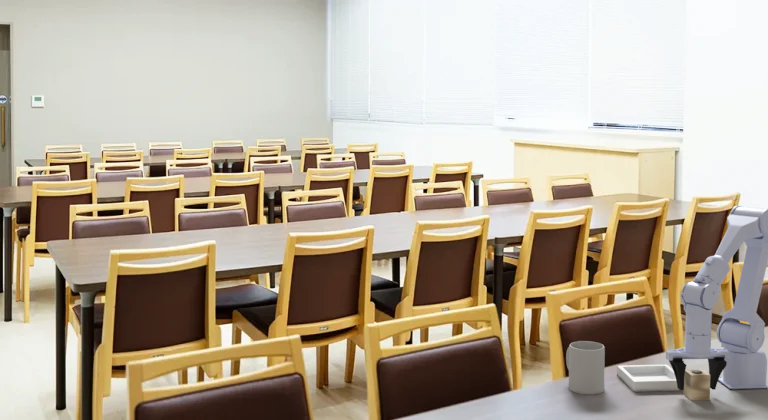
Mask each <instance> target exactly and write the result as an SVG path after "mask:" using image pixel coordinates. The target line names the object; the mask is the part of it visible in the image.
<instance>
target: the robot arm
mask: <svg viewBox="0 0 768 420" xmlns="http://www.w3.org/2000/svg"><path fill="white" fill-rule="evenodd" d="M726 218H727V219H726V225H727V229H726V231H725V233H724V234H723V235H724V236H723V237H722V240H721V241H720V244H719V245H718V248H717V249H716V252H715V254H714V255H710V256H708V257H706V259H705V261H704V262H703V264H702V266H701V267H700V269H699V270H698V272H697V274H696V275H695V277H694V278H693V279H692V281H689V282H687V283H686V284H685V285H684V286H683V287H682V290H681V293H680V299H681V301H682V304H683V310H684V312H685V333H684V334H685V335H684V347H683V348H677V349H670V350H669V349H667V350H665V359H666V360H668V362H669V363H670V367H671V368H672V369H673V371H674V374H675V377H676V381H677V388H678V389H680V390H679V391H683V390H684V375H685V370H687V364H686V363H685V361H684V360H707V361H708V362H707V363H708V374H710V390H712V391H714V390H716V388H717V386H718V385H717V384H718V382H719V383H721V384H723V385H724V386H725V387H727V388H728V389H730V390H741V389H742V390H743V389H747V390H748V389H767V388H768V385H767V369H768V363H767V362H768V360H767V355H766V352H765V351H764V350H763V349H762V346H764V342H765V339H766V338H765V326H766V323H765V322H764V320H763V318H762V317H760V315H759V314H758V313H757V311H758V307H759V306H758V305H759V302H760V297H761V293H762V287H763V284H764V280H765V275H766V272H767V271H766V270H767V266H768V208H760V207H749V206H742V205H736V206H735V205H734V206H733V207H732V209H731V211H730V212H729V214H728V216H727V217H726ZM744 243H745V246H746V250H745V254H744V258H743V259H744V260H743V265H742V267H741V273H740V277H739V282H738V286H737V292H736V296H735V300H734V304H733V307H732V308H731V309H728V310H727V311H725V312H723V314H722V317H721V320H720V322H719V324H718V326H717V328H716V338H717V340H718V343H720V344H721V345H720V346H721V348H712V343H711V342H712V322H713V321H712V319H713V308H714V307H715V306H716V304H717V303H718V302H719V297H720V296H719V294H720V292H721V288H720V286H721V285H722V284H723V282H724V280H725V279H726V276H727V275H728V273H729V272H730V270H731V267H730V265H729V264H730V263H729V262H730V261H731V260H732V258H733V257H734V255H735V254H736V252H737V251H738V250H739V248H740V247H741V246H742V244H744ZM740 321H741V322H740ZM744 322H745V323H744ZM721 374H722V376H721Z"/></svg>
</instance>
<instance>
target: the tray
mask: <svg viewBox="0 0 768 420" xmlns="http://www.w3.org/2000/svg"><path fill="white" fill-rule="evenodd" d="M616 376H617V377H618V378H619V379H620V380H621V381H622V382H623V383H625V385H626V386H627V387H628V388H630V390H631V391H633V392H635V393H637V392H638V393H639V392H670V391H677V392H679V391H681V390H680V389H678V388H677V381H676V377H675V374H674V371H673V369H672V366H669V365H668V364H633V365H629V364H628V365H617V366H616Z"/></svg>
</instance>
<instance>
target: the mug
mask: <svg viewBox="0 0 768 420" xmlns="http://www.w3.org/2000/svg"><path fill="white" fill-rule="evenodd" d="M568 345H569V346H568V347H567V350H566V353H565V354H566V356H565V362H566V366H567V367H566V368H567V370H568V389H569V390H570V391H571V392H572V393H575V394H579V395H587V396H588V395H590V396H591V395H599V394H601V393H604V391H605V355H606V352H605V351H606V349H605V348H606V347H605V346H604V344H602V343H600V342H595V341H591V340H590V341H588V340H578V341H574V342H571V343H570V344H568Z"/></svg>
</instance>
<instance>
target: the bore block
mask: <svg viewBox="0 0 768 420" xmlns="http://www.w3.org/2000/svg"><path fill="white" fill-rule="evenodd" d="M682 392H683V393H682V394H683V395H684V396H685V397H686V398H688V399H689V400H690V401H702V400H704V401H706V400H707V401H709V400H710V398H711V396H710V395H711V388H710V374H709V372H707V371H706V370H704V369H703V368H702V369H700V368H699V369H698V368H697V369H696V368H693V369H692V368H691V369H685V375H684V390H682Z"/></svg>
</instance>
